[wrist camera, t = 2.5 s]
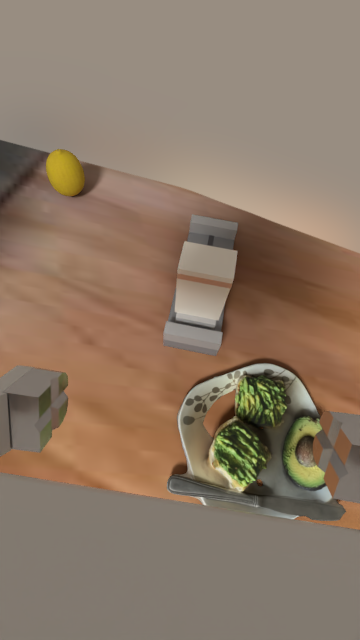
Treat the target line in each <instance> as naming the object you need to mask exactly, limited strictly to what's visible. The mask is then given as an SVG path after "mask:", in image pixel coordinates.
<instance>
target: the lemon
mask: <svg viewBox="0 0 360 640" xmlns="http://www.w3.org/2000/svg"><path fill="white" fill-rule="evenodd" d="M46 171H47V175H48V179H49V181H50V183H51V185H52V186H53V187H54V189H55V190H56V191H58V192H59V193H60V194H62V195H65V196H74V195H77V194H78V193H80V192H81V190H82V189H83V187H84V183H85V177H84V171H83V168H82V166H81V164H80V162H79V160H78V159H77V158H76V156H75V155H73V154H72V153H71V152H69V151H67V150H62V149H57V150H55V151H53V152H52V153H51V154H50V155H49V156H48V158H47V161H46Z"/></svg>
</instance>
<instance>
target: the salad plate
mask: <svg viewBox="0 0 360 640" xmlns="http://www.w3.org/2000/svg"><path fill="white" fill-rule="evenodd" d="M233 390H236V394H235V417H233V418H232V419H230V420H228V421H226V422H225V423H223V424H222V425H221V426H220V427H219V428H218V429H217V431H216V433H215V436H214V438H213V437H211V436H210V434H209V433H208V432H207V430H206V429H205V427H204V425H203V421H204V418H205V415H206V413H207V411H208V410H209V409H210V407H211V406H212V404H213V403H214V402H215V401H216V400H217V399H219V398H220V397H221V396H223V395H225V394H227V393H229V392H231V391H233ZM320 418H321V416H320V415H319V413H318V411H317V409H316V407H315V405H314V403H313V401H312V399H311V397H310V395H309V393H308V391H307V390H306V388H305V387H304V385H303V383H302V382H301V380H300V379H299V378H298V377H297V376H296V375H295V374H293V373H292V372H290V371H289V370H287V369H285V368H282V367H280V366H277V365H274V364H269V363H260V364H253V365H249V366H246V367H243V368H240V369H237V370H235V371H232V372H229V373H226V374H224V375H221V376H217V377H214V378H212V379H209V380H207V381H205V382H203V383H201V384H198V385H196V386H195V387H194V388H193V389H192V390H191V391H190V392H189V393H188V395H186V397H185V398H184V401H183V403H182V405H181V408H180V410H179V412H178V415H177V424H178V429H179V432H180V436H181V442H182V447H183V449H184V452H185V456H186V459H187V467H188V471H187V472H186V473H185V474H182V475H178V474H174V475H172V476H170V478H169V479H168V482H167V489H168V491H169V492H171V493H173V494H177V495H185V496H191V497H195V498H197V499H198V500H200V501H201V503H202V504H203V505H206V506H213V507H219V508H225V509H231V510H237V511H244V512H250V513H256V514H263V515H269V516H275V517H281V518H288V519H295V518H296V517H298V516H307V517H309V518H310V519H312V520H319V521H337V520H340V518H341V517H342V515H343V514H344V513H345V512H346V511H345V509H344V508H343V506H342V505H340V504H339V503H338V502H337V500H336V499H334V498H332V496H331V494H330V492H329V490H328V487H327V485H326V483H325V481H324V479H323V478H324V475H325V472H323V471H322V470H321V469H320V468H319V467H317V464H316V462H315V460H314V456H313V441H314V438H315V434H317V433H318V432H319V431H321V430H322V427H321V425H320V423H319V421H320ZM259 427H263V429H260V428H259ZM257 479H261V481H262V482H263V486H258V485H257V483H256V480H257Z"/></svg>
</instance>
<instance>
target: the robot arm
mask: <svg viewBox="0 0 360 640" xmlns="http://www.w3.org/2000/svg"><path fill="white" fill-rule="evenodd" d="M67 386H68V376H67V374H66V373H65V372H59V371H53V370H47V369H41V368H35V367H29V366H16V367H14V368H13V369H12V370H10V371H9V372H8V373H6V374H5V375H4V376H2V377H1V378H0V456H2V455H4V454H5V453H7V452H9V451H10V450H11V449H17V450H24V451H32V452H41V451H42V449H43V448H44V447H45V445H46V444H47V442H48V441H49V440H50V438H51V437H52V430H54V429H56V428H58V427H59V426H60V424H61V423H62V422H63V420H64V417H65V415H66V412H67V406H68V397H67V395H66V394H65V393H64V389H65V388H66V387H67ZM319 423H320V425H321V427H322V430H321V431H319V432H318V433H317V434H315V438H314V441H313V456H314V460H315V462H316V464H317V467H319V468H320V469H321V470H322V471H323V472H325V475H324V478H323V479H324V481H325V483H326V485H327V487H328V490H329V492H330V494H331V496H332V498H334V499H339V500H344V501H350V502H355V503H360V415H355V414H347V413H339V412H330V411H324V413H323V414H322V415H321V418H320V421H319ZM0 640H360V530H356V529H350V528H344V527H338V526H331V525H325V524H319V523H313V522H306V521H300V520H294V519H288V518H281V517H275V516H269V515H263V514H256V513H250V512H244V511H237V510H231V509H225V508H219V507H213V506H206V505H200V504H194V503H188V502H181V501H175V500H169V499H163V498H156V497H150V496H144V495H138V494H131V493H125V492H119V491H113V490H106V489H100V488H94V487H88V486H81V485H75V484H69V483H63V482H56V481H50V480H44V479H38V478H31V477H25V476H19V475H13V474H7V473H0Z"/></svg>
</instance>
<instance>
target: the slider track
mask: <svg viewBox="0 0 360 640" xmlns="http://www.w3.org/2000/svg"><path fill="white" fill-rule="evenodd" d="M237 228H238V223H236V222H231V221H225V220H220V219H214V218H209V217H203V216H198V215H192V218H191V222H190V230H189V235H188V240H187V242H192V243H197V244H203V245H208V246H213V247H219V248H224V249H230V250H233V245H234V239H235V236H236V233H237ZM175 299H176V290H175V294H174V298H173V302H172V306H171V311H170V315H169V319H168V322H167V321H166V325H165V329H164V346H169V347H174V348H179V349H184V350H189V351H194V352H199V353H204V354H209V355H214V356H216V354H217V352H218V350H219V348H220V346H221V341H222V334H223V332H221V328H222V321H223V314H224V307H225V304H224V307H223V310H222V313H221V315H220V318H219V321H218V320H216V324H215V328H214V330H212V329H207V328H202V327H197V326H192V325H187V324H182V323H177V322H175V321H176V314H177V312H175Z"/></svg>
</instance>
